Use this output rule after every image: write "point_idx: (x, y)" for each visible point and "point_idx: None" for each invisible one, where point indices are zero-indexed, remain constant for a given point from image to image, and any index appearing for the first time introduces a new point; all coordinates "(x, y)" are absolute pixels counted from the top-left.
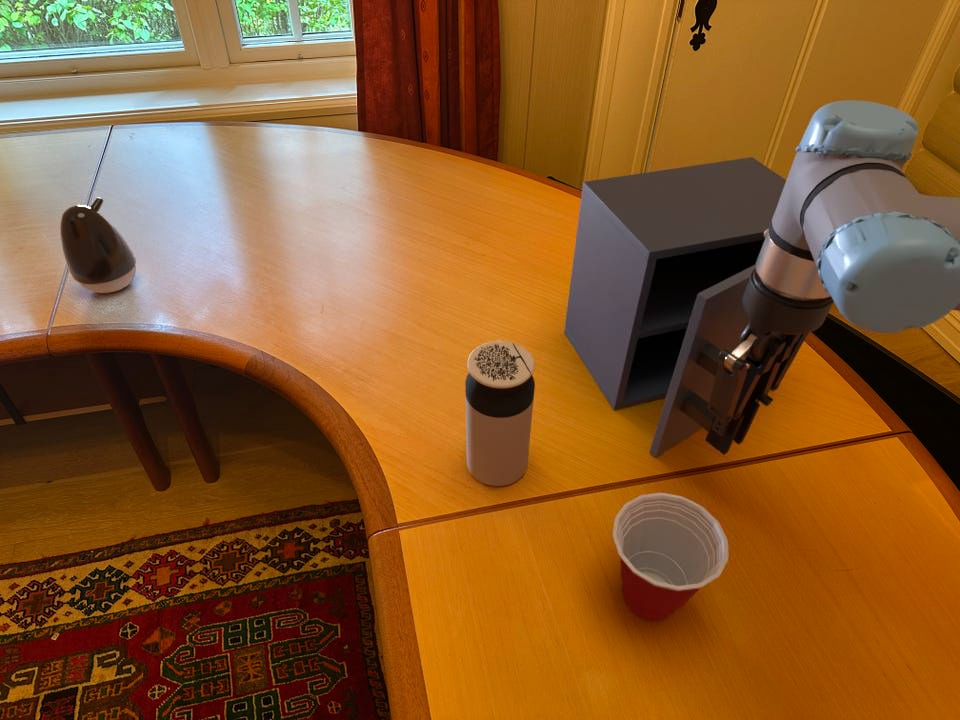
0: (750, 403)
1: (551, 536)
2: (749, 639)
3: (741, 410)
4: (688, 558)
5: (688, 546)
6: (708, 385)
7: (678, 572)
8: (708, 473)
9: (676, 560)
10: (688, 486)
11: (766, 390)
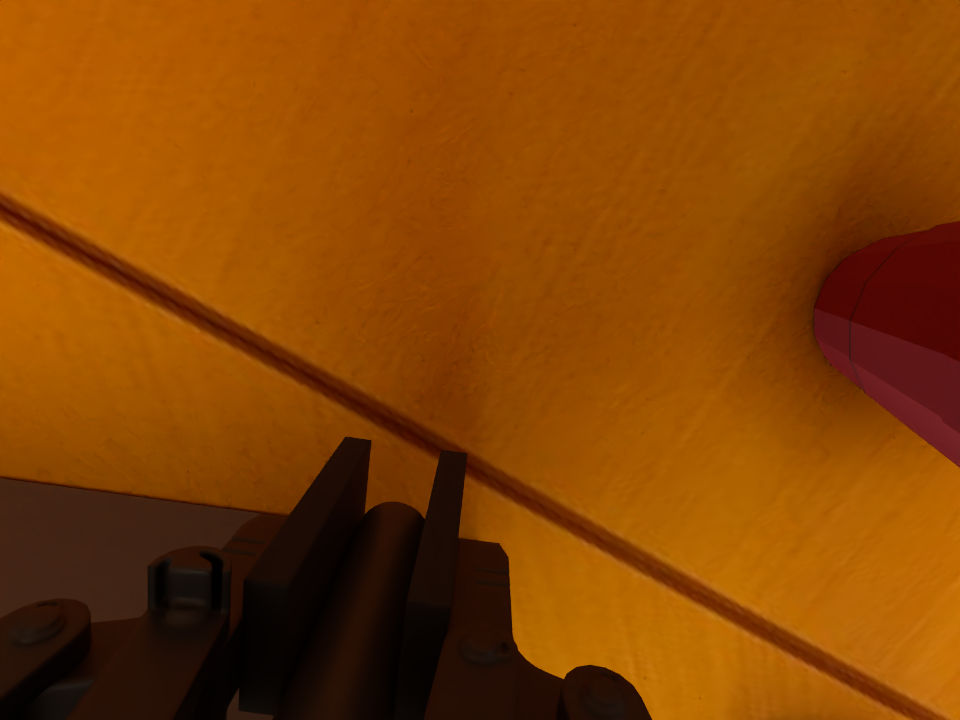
0: (285, 624)
1: (890, 575)
2: (822, 39)
3: (455, 674)
4: (903, 294)
5: (921, 320)
6: (233, 708)
7: (859, 291)
8: (409, 414)
9: (860, 318)
10: (493, 428)
11: (154, 684)
